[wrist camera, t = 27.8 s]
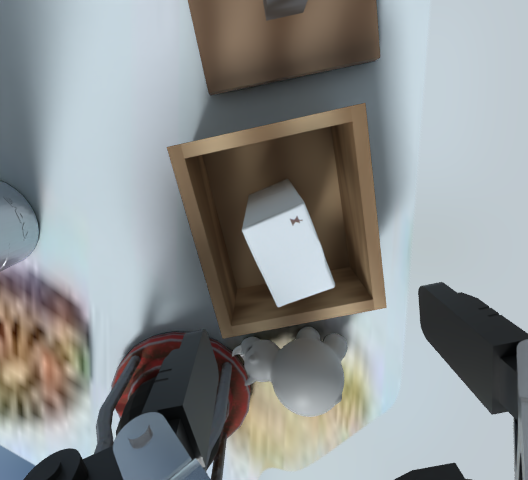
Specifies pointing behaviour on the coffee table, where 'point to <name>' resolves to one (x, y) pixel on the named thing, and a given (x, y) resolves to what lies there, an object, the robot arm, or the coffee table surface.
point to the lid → (281, 39)
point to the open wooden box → (317, 203)
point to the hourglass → (143, 377)
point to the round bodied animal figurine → (298, 369)
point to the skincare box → (285, 244)
